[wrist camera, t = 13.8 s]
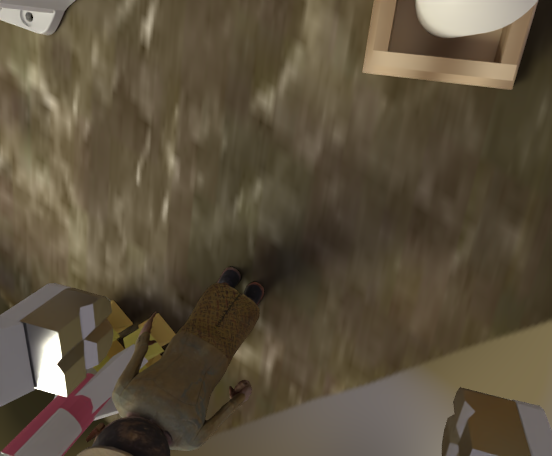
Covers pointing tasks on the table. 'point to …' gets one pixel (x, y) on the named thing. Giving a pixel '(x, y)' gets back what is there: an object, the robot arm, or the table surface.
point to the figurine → (181, 378)
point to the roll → (468, 15)
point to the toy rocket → (88, 393)
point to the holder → (442, 49)
